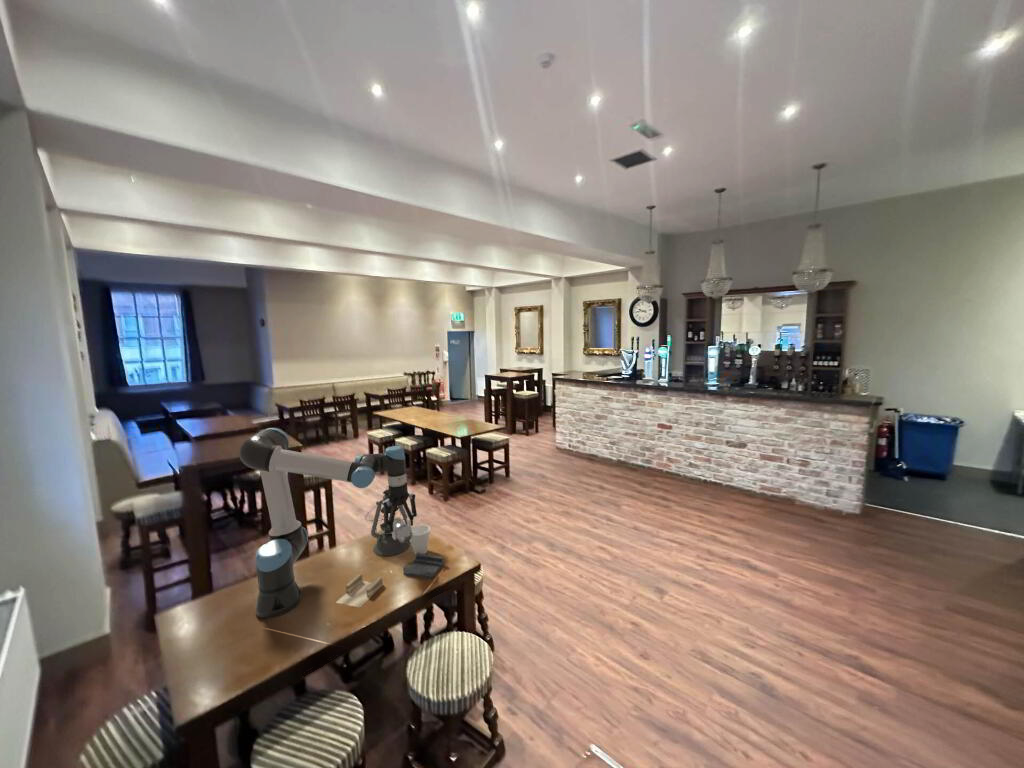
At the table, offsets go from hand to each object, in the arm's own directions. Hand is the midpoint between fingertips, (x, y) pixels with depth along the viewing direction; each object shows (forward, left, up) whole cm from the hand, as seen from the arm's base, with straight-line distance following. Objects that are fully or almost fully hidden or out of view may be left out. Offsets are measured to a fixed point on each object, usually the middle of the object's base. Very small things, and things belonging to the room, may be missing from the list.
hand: (402, 535), depth 171 cm
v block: (+8, +2, -16) cm, 18 cm away
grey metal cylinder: (-1, +1, -1) cm, 2 cm away
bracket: (-8, -19, -16) cm, 26 cm away
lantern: (-17, +16, -16) cm, 29 cm away
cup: (0, +14, -16) cm, 21 cm away
